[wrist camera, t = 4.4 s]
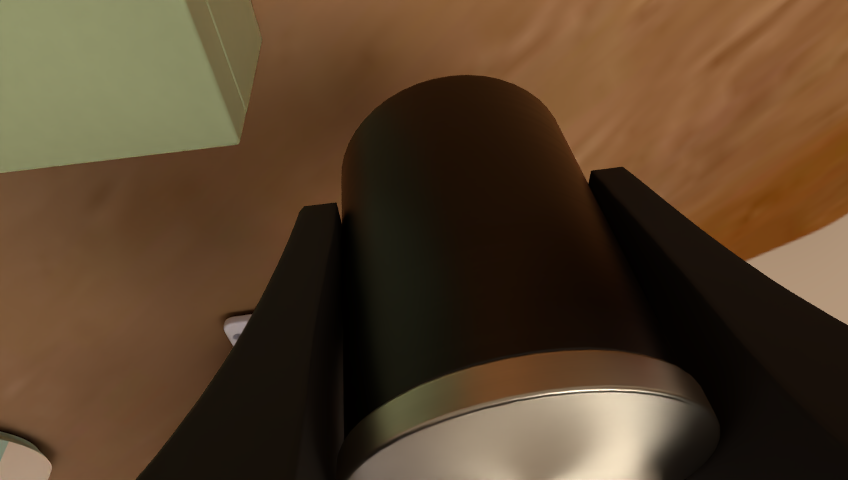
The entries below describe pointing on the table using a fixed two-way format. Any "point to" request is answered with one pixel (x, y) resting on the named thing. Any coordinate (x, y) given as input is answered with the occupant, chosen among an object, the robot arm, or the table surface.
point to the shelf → (122, 78)
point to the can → (21, 460)
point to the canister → (497, 306)
